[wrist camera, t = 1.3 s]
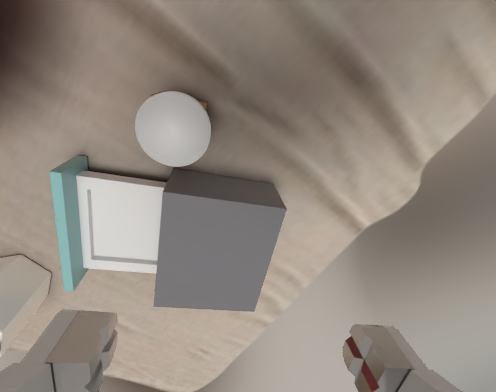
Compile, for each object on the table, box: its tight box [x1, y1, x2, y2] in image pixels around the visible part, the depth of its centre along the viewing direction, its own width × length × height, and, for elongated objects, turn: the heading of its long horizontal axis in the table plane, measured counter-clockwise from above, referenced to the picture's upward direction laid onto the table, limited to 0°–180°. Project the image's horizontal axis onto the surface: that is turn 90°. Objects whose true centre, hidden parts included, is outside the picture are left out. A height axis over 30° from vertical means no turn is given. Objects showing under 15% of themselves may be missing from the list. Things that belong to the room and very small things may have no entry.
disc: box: [135, 91, 211, 167], centre depth 23 cm, size 7×7×2 cm
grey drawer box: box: [154, 168, 286, 312], centre depth 32 cm, size 16×13×7 cm
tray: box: [49, 155, 167, 291], centre depth 30 cm, size 16×13×5 cm
